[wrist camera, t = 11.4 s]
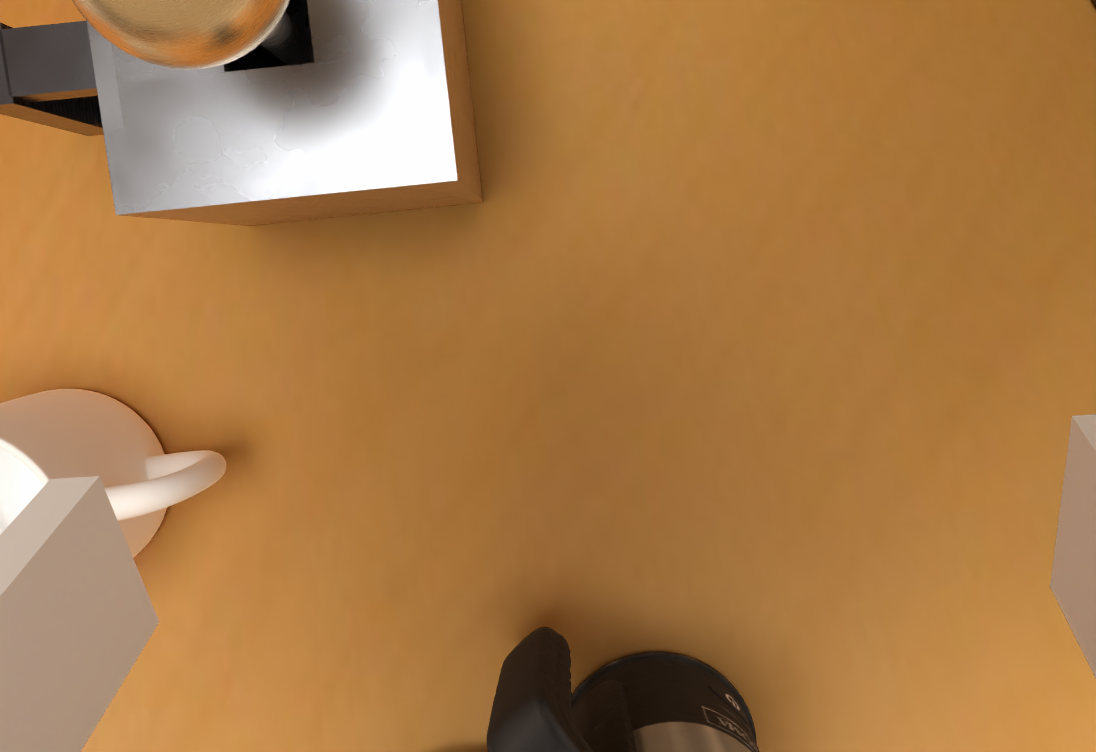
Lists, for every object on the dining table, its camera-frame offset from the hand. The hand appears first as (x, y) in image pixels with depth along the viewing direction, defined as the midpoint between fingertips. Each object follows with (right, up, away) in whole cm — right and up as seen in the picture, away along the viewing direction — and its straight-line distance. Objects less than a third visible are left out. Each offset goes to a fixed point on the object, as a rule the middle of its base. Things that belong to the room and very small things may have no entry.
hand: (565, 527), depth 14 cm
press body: (-11, +14, +29) cm, 34 cm away
